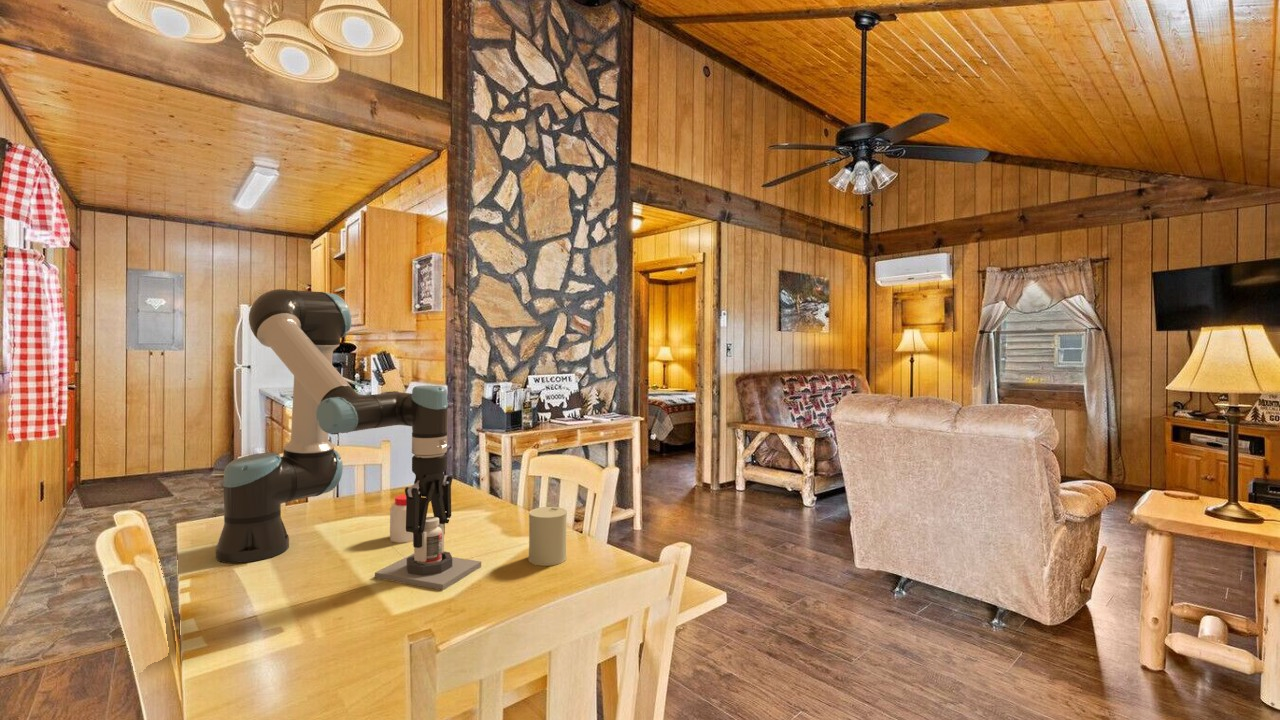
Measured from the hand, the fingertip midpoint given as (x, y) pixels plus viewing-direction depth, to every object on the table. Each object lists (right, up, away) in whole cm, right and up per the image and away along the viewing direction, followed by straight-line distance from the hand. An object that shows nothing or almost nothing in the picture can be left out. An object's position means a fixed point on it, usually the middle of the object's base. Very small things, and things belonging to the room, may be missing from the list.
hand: (429, 555), depth 135 cm
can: (+25, -4, +9) cm, 27 cm away
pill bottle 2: (0, -2, 0) cm, 1 cm away
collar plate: (0, -4, 0) cm, 4 cm away
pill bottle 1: (-14, -3, +23) cm, 27 cm away
